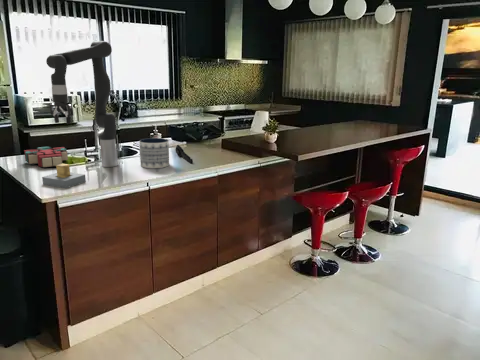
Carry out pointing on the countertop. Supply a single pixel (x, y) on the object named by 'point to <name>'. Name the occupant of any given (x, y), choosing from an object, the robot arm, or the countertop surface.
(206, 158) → the countertop surface
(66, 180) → the hole block
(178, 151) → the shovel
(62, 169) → the peg
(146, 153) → the planter
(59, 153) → the toy
